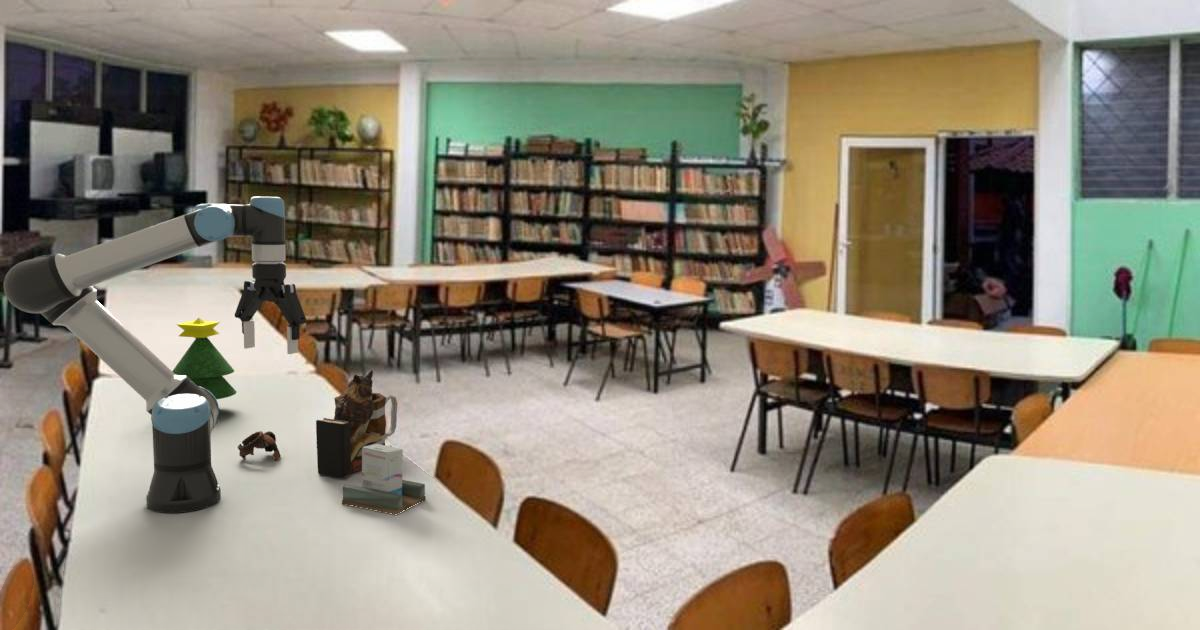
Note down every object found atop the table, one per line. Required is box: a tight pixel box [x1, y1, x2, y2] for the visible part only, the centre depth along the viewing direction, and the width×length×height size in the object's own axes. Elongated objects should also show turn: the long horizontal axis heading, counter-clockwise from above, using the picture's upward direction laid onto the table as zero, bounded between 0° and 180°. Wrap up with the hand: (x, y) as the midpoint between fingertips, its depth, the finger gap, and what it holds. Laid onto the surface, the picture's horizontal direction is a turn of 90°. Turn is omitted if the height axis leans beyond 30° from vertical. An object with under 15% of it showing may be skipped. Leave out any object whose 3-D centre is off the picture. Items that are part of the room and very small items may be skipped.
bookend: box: [315, 369, 382, 478], centre depth 225 cm, size 15×11×25 cm
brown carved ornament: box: [237, 430, 282, 462], centre depth 234 cm, size 12×10×8 cm
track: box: [341, 479, 427, 515], centre depth 204 cm, size 11×15×4 cm
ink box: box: [361, 444, 404, 495], centre depth 204 cm, size 9×5×12 cm, turn 59°
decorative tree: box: [171, 317, 237, 400], centre depth 276 cm, size 19×19×30 cm
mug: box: [334, 392, 398, 446], centre depth 244 cm, size 20×14×15 cm
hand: (270, 350), depth 214 cm, fingers open, 13 cm apart
